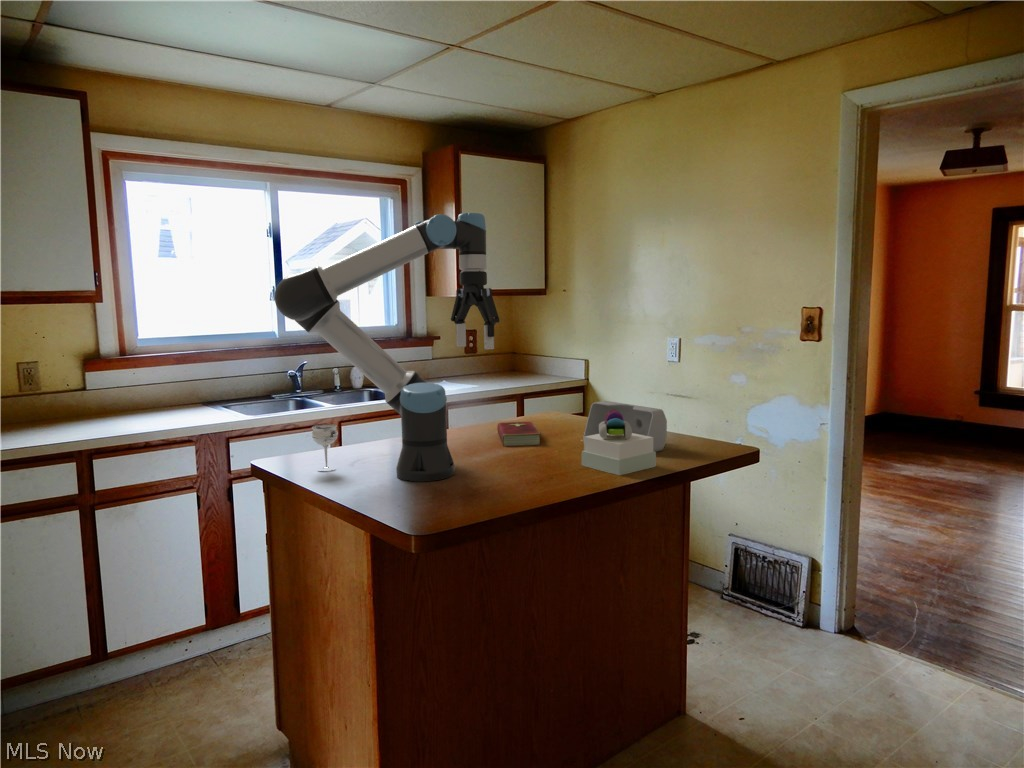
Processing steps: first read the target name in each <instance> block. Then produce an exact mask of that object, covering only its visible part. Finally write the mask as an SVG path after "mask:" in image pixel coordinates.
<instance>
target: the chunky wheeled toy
mask: <svg viewBox="0 0 1024 768" xmlns="http://www.w3.org/2000/svg"><path fill="white" fill-rule="evenodd" d="M599 433H600V436H601V438H603V439H607V433H608V434H609V435H623V434H624V437H625V439H628V438H630V437H631V435H632V428H631V427H630V424H629V423H628V422H626V421H624V418H623V415H622V414H621V413H620V412H619V411H616V410H613V411H610V412H609V413H608V414H607V415H606V422H605V421H603V422H601V423H600V424H599Z"/></svg>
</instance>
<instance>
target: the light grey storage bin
mask: <svg viewBox="0 0 1024 768" xmlns="http://www.w3.org/2000/svg"><path fill="white" fill-rule="evenodd" d="M613 410H616V411H619V412H620V413H621V414H622V415H623V418H624V421H626V422H628V423H629V424H630V427H631V428H632V433H634V434H639V435H644V436H649V437H653V451H654V452H656V453H657V452H662V451H663V450H664V447H665V444H666V441H667V435H668V434H667V433H668V431H667V429H668V421H667V418H666V415H665V412H664V410H663V409H661V408H658V407H657V408H655V407H649V406H642V405H635V404H629V403H623V402H617V401H610V400H601V401H595V402H593V403H591V405H590V409H589V413H588V417H587V420H586V425H585V429H584V433H583V437H582V442H583V443H584V437H585V436H590V435H595V434H600V433H599V424H600V423H601V422H603V421H605V422H606V415H607V414H608V413H609V412H610V411H613Z"/></svg>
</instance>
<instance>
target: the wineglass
mask: <svg viewBox="0 0 1024 768" xmlns="http://www.w3.org/2000/svg"><path fill="white" fill-rule="evenodd" d="M337 427H338V424H333V423H330V424H329V423H327V424H326V423H325V424H324V423H323V424H318V425H317V424H315V425H313V426H311V429H312V433H311V436H312V439H313V441H314V442H315V443H316V444H317V445H320V446H322V447H323V450H324V458H325V459H324V460H325V466H324V467H323V468H329V467H330V466H328V448H329V445H331V444H334V442H335V441H336V440H337V439H338V435H339V432H338V429H337Z"/></svg>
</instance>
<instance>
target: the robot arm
mask: <svg viewBox="0 0 1024 768" xmlns="http://www.w3.org/2000/svg"><path fill="white" fill-rule="evenodd" d="M436 250H458V256H459V257H458V265H459V266H458V267H459V268H458V269H459V271H460V270H461V271H460V272H459V285H460V286H463V287H462V288H456V293H455V294H456V295H455V300H454V305H453V308H452V312H451V316H450V321H451V322H454V324H455V335H456V347H457V348H462V347H467V333H466V332H467V331H466V329H467V328H466V327H467V326H466V325H467V324H466V323H467V322H466V321H465V320H466V318H467V316H468V313H469V311H470V309H471V307H472V306H475V307H477V310H478V311H479V313H480V315H481V318H482V319H483V321H484V324H483V343H484V344H483V346H484V347H483V349H484V351H485V350H494V349H495V338H494V337H495V325H496V324H497V323H500V317H499V314H498V310H497V307H496V305H495V301H494V297H493V292H492V288H491V287H489V288H488V287H485V286H487V284H488V275H487V273H488V272H487V271H485V270H486V269H487V267H488V266H487V226H486V217H485V215H484V214H482V213H480V212H463V213H459V214H458V216H457V219H456V220H454V219H453V218H451V217H450V216H449V215H446V214H441V213H440V214H438V213H437V214H434V215H432V216H430V218H429V219H426V220H418V221H415V223H414V225H413V226H411V227H409V228H406V229H405V230H403V231H400V232H398V233H395V234H394V235H391V236H389V237H388V238H386V239H384V240H381V241H379V242H376V243H373V244H372V245H370V246H368V247H366V248H364V249H361V250H358V252H355V253H353V254H351V255H348V256H346V257H344V258H342V259H340V260H338V261H336V262H333V263H332V264H329V265H327V266H325V267H322V266H319V265H316V266H314V267H313V268H309V269H308V270H305V271H301V272H299V273H293V274H291V275H288V276H286V277H284V278H282V280H280V282H279V283H278V285H277V286H276V288H275V291H274V302H275V306H276V307H277V310H278V311H279V312H280V313H281V314H282V315H283V316H284V317H285V318H287V319H289V320H293V321H295V322H296V323H297V325H299V326H300V327H302V328H303V329H304V330H305V331H306V332H307V333H308V334H317V335H319V336H320V337H321V338H322V339H323V340H325V341H326V342H327V343H328V344H329V345H330V346H331V347H332V348H333V349H335V350H336V351H337V352H338V353H339V354H340V355H341V356H342V357H343V358H345V359H346V360H347V361H348V362H349V363H350V364H351V365H352V366H353V367H355V368H356V369H357V370H358V371H359V372H360V373H361V374H362V375H363V376H365V377H366V378H367V379H368V380H369V381H371V382H372V383H373V384H374V385H375V386H376V387H377V388H378V389H379V390H380V391H381V392H382V393H383V394H384V399H385V403H386V404H388V405H389V406H390V408H392V409H393V410H394V411H395V412H397V414H399V415H400V419H401V420H400V421H401V422H400V423H401V442H402V445H401V446H402V447H401V450H400V454H399V456H398V461H397V465H396V468H395V469H396V477H397V478H398V479H401V480H404V481H407V480H409V481H410V482H433V481H434V482H435V481H440V480H445V479H447V478H450V477H451V478H452V476H454V474H455V473H456V472H455V469H456V468H455V462H454V460H453V457H452V453H451V451H450V449H449V445H448V430H447V429H448V426H447V399H448V397H447V394H446V389H445V387H443V385H440V384H438V383H433V382H427V381H426V380H425V379H424V378H423V377H422V376H421V375H420V374H418V373H417V371H415V370H406V369H405V368H404V367H403V366H402V365H400V363H398V362H397V361H396V360H395V359H394V358H393V357H392V356H391V355H390V354H388V352H386V351H385V350H384V349H383V348H382V347H381V346H380V345H379V344H377V342H376V341H374V340H373V339H372V338H371V337H370V336H369V335H368V334H367V333H366V332H364V330H363V329H361V328H360V327H359V326H358V325H357V324H356V323H355V322H354V321H353V320H351V318H349V317H348V316H347V315H346V314H345V313H344V312H343V311H342V310H341V308H340V307H341V306H340V304H341V303H340V301H339V300H338V297H339V296H341V295H343V294H345V293H346V292H349V291H351V290H353V289H355V288H357V287H360V286H362V285H364V284H366V283H368V282H370V281H372V280H374V279H376V278H379V277H380V276H383V275H385V274H387V273H389V272H391V271H393V270H395V269H398V268H400V267H402V266H404V265H406V264H408V263H410V262H412V261H414V260H417V259H419V258H421V257H423V256H426V255H427V254H429V253H432V252H434V251H436ZM409 481H408V482H409Z"/></svg>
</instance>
